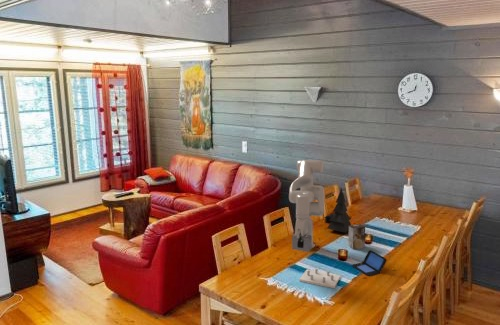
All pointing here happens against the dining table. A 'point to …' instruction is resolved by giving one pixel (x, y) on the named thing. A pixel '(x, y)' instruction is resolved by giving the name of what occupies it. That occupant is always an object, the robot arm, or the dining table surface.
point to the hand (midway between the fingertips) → (301, 245)
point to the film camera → (328, 218)
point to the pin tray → (320, 278)
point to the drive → (306, 243)
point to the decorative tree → (340, 215)
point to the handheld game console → (371, 264)
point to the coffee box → (356, 236)
